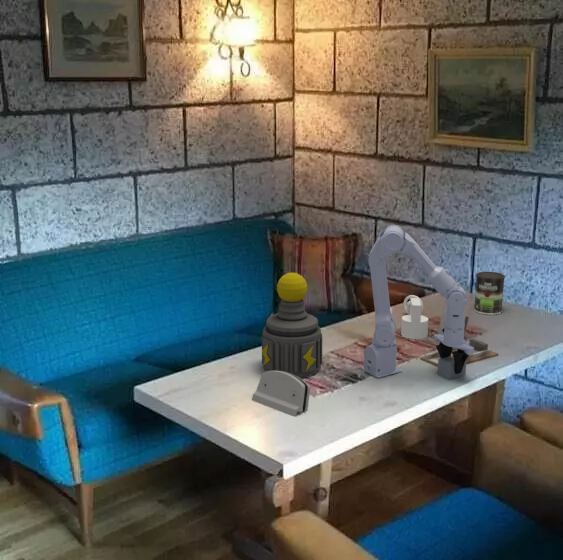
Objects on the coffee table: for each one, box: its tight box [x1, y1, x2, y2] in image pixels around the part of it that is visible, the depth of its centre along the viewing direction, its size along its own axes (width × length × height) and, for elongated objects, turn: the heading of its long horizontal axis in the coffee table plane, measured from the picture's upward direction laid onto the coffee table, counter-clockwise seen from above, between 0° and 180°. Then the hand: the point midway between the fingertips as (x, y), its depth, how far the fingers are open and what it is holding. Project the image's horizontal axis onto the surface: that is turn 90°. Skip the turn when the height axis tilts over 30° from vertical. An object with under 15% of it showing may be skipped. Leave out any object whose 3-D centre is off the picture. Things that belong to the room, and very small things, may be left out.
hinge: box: [251, 370, 311, 417], centre depth 213 cm, size 17×5×10 cm, turn 47°
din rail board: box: [419, 338, 499, 368], centre depth 247 cm, size 23×11×4 cm, turn 122°
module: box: [437, 355, 467, 380], centre depth 233 cm, size 7×4×5 cm, turn 122°
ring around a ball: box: [402, 294, 424, 315], centre depth 289 cm, size 8×6×8 cm
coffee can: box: [473, 271, 506, 316], centre depth 294 cm, size 10×10×14 cm
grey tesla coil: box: [261, 272, 323, 379], centre depth 236 cm, size 19×19×30 cm
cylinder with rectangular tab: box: [400, 297, 429, 340], centre depth 267 cm, size 9×9×12 cm
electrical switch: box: [437, 307, 470, 335], centre depth 266 cm, size 9×5×9 cm, turn 35°
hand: (452, 370), depth 233 cm, fingers closed on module, 4 cm apart
